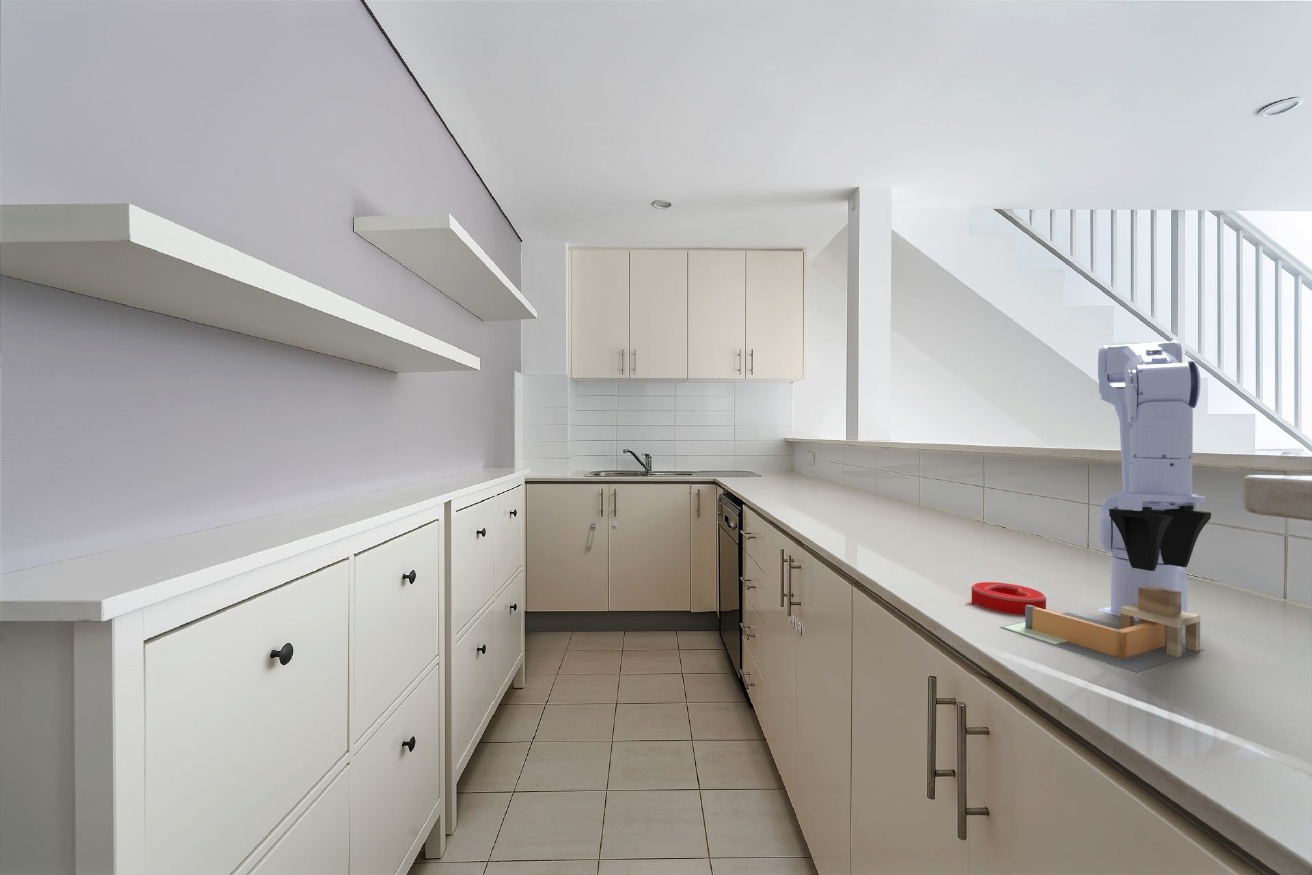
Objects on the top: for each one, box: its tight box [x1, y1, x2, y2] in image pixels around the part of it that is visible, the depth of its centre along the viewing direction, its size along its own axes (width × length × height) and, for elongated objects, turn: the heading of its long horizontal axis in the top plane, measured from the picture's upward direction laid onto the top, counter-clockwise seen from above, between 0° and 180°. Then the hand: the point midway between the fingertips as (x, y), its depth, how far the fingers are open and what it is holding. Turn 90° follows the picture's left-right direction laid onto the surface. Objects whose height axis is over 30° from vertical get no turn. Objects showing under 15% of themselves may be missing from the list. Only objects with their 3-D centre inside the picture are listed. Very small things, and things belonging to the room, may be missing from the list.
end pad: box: [1002, 621, 1068, 646], centre depth 70 cm, size 6×6×1 cm
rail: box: [1024, 605, 1167, 659], centre depth 69 cm, size 11×11×3 cm
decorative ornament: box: [971, 581, 1047, 616], centre depth 82 cm, size 10×10×3 cm
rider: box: [1119, 585, 1201, 657], centre depth 66 cm, size 6×6×7 cm
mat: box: [999, 611, 1205, 673], centre depth 68 cm, size 16×15×1 cm
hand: (1159, 567), depth 66 cm, fingers open, 7 cm apart
